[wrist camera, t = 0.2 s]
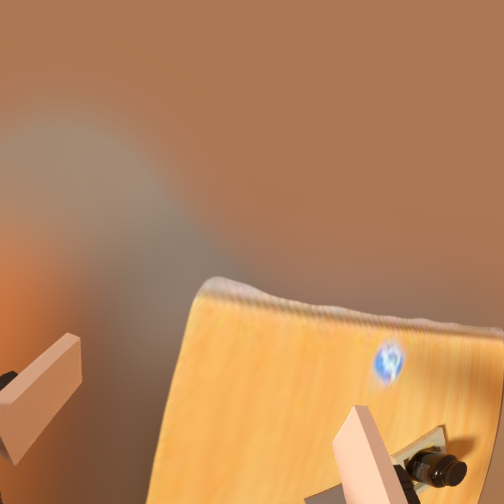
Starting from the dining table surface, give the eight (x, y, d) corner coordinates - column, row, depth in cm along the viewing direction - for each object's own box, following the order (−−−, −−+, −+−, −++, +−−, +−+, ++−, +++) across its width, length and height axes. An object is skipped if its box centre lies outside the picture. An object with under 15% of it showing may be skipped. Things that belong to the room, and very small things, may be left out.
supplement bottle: (417, 484, 40) (454, 497, 29) (399, 471, 41) (437, 485, 30) (437, 457, 42) (475, 464, 31) (420, 443, 43) (460, 450, 32)
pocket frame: (444, 470, 41) (450, 471, 39) (399, 500, 38) (405, 503, 36) (436, 426, 45) (442, 427, 43) (389, 456, 42) (395, 458, 40)
